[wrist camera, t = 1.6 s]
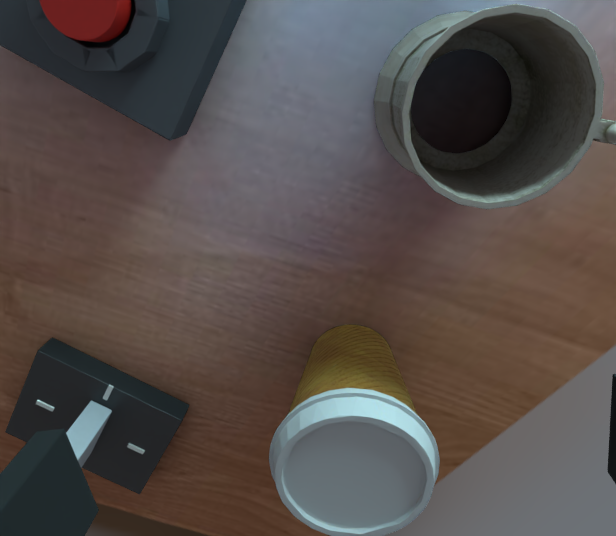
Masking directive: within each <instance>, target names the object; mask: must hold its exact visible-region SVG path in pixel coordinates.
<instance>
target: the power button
mask: <svg viewBox="0 0 616 536" xmlns="http://www.w3.org/2000/svg"><path fill="white" fill-rule="evenodd" d="M39 1H40V4H41V7H42V9H43V11H44V13H45V15H46V17H47V18H48V20H49V21H50V22H51V24H52V25H53V26H54V27H55V28H56V29H57V30H59V31H60V32H61V33H63V34H64V35H66V36H68V37H70V38H73V39H76V40H81V41H90V42H106V41H110V40H112V39H114V38H116V37H117V36H119V35H120V34H121V33H122V32H123V30H124V29H125V28H126V26H127V24H128V22H129V19H130V15H131V7H132V3H131V0H39Z"/></svg>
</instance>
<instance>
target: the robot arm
mask: <svg viewBox="0 0 616 536" xmlns="http://www.w3.org/2000/svg"><path fill="white" fill-rule="evenodd" d="M608 473H609V474H610V476H611V477H612V479H613V481H614V482H615V483H616V374H613V381H612V399H611V418H610V437H609V456H608ZM98 510H99V509H98V507H97V505H96V502H95V500H94V498H93V495H92V493H91V491H90V488H89V486H88V483H87V481H86V479H85V476H84V474H83V472H82V469H81V467H80V465H79V462H78V460H77V457H76V455H75V453H74V450H73V448H72V446H71V443H70V441H69V439H68V436H67V434H66V431H65V429H57V430H47V431H37V432H36V433H35V434H34V435H33V436H32V438H31V439H30V440H29V441H28V442H27V443H26V445H25V446H24V447H23V448H22V449H21V450H20V452H19V453H18V454H17V455H16V456H15V457H14V459H13V460H12V461H11V462H10V463H9V464H8V466H7V467H6V468H5V469H4V470H3V471H2V473H1V474H0V536H85V534H86V532H87V530H88V528H89V527H90V525H91V523H92V521H93V520H94V518H95V516H96V514H97V513H98Z"/></svg>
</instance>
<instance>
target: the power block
mask: <svg viewBox="0 0 616 536" xmlns="http://www.w3.org/2000/svg"><path fill="white" fill-rule="evenodd" d="M245 2H246V0H131V3H132V7H131V15H130V19H129V22H128V24H127V26H126V28H125V29H124V30H123V32H122V33H121V34H120V35H119V36H117V37H116V38H114V39H112V40H110V41H106V42H90V41H81V40H76V39H73V38H70V37H68V36H66V35H64V34H63V33H61V32H60V31H59V30H57V29H56V28H55V27H54V26H53V25H52V24H51V22H50V21H49V20H48V18H47V17H46V15H45V13H44V11H43V9H42V7H41V4H40V1H39V0H0V45H1V46H3V47H4V48H6V49H8V50H10V51H11V52H13V53H15V54H17V55H19V56H20V57H22V58H24V59H26V60H27V61H29V62H31V63H33V64H35V65H36V66H38V67H40V68H42V69H43V70H45V71H47V72H49V73H51V74H52V75H54V76H56V77H58V78H59V79H61V80H63V81H65V82H67V83H68V84H70V85H72V86H74V87H75V88H77V89H79V90H81V91H83V92H84V93H86V94H88V95H90V96H91V97H93V98H95V99H97V100H99V101H100V102H102V103H104V104H106V105H107V106H109V107H111V108H113V109H115V110H116V111H118V112H120V113H122V114H123V115H125V116H127V117H129V118H131V119H132V120H134V121H136V122H138V123H139V124H141V125H143V126H145V127H147V128H148V129H150V130H152V131H154V132H155V133H157V134H159V135H161V136H163V137H164V138H166V139H168V140H170V141H171V140H173V139H176V138H178V137H181V136H183V135H186V134H187V131H188V129H189V127H190V125H191V123H192V120H193V118H194V116H195V114H196V111H197V109H198V107H199V105H200V103H201V100H202V98H203V96H204V94H205V91H206V89H207V87H208V85H209V83H210V80H211V78H212V76H213V74H214V71H215V69H216V67H217V65H218V62H219V60H220V58H221V56H222V54H223V51H224V49H225V47H226V45H227V42H228V40H229V38H230V36H231V34H232V31H233V29H234V27H235V25H236V22H237V20H238V18H239V16H240V13H241V11H242V9H243V7H244V5H245Z"/></svg>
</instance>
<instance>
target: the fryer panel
mask: <svg viewBox="0 0 616 536" xmlns="http://www.w3.org/2000/svg"><path fill="white" fill-rule="evenodd" d="M90 401H94V402H96V403H98V404H100V405H102V406H104V407H106V408H108V409H110V410H112V412H111V414H110V416H109V418H108V420H107V422H106V424H105V426H104V428H103V430H102V432H101V434H100V436H99V438H98V440H97V442H96V444H95V446H94V448H93V450H92V452H91V454H90V456H89V457H88V459H87V460H86V462H85V463H84V465H83V466H82V468H84V469H86V470H88V471H90V472H92V473H95V474H97V475H99V476H101V477H103V478H105V479H108V480H110V481H112V482H114V483H116V484H118V485H121V486H123V487H125V488H127V489H129V490H131V491H134V492H136V493H138V494H140V493H141V491H142V489H143V488H144V486H145V484H146V483H147V481H148V479H149V477H150V476H151V474H152V472H153V470H154V469H155V467H156V465H157V464H158V462H159V460H160V458H161V457H162V455H163V453H164V451H165V450H166V448H167V446H168V444H169V443H170V441H171V439H172V438H173V436H174V434H175V432H176V431H177V429H178V427H179V425H180V424H181V422H182V420H183V418H184V416H185V414H186V412H187V409H188V407H189V405H188V404H186V403H184V402H182V401H180V400H178V399H176V398H174V397H172V396H170V395H168V394H166V393H164V392H162V391H160V390H158V389H156V388H154V387H152V386H150V385H148V384H146V383H144V382H142V381H140V380H138V379H136V378H133V377H131V376H129V375H127V374H125V373H123V372H121V371H119V370H117V369H115V368H113V367H111V366H109V365H107V364H105V363H103V362H101V361H99V360H97V359H95V358H93V357H91V356H89V355H87V354H85V353H83V352H81V351H79V350H77V349H75V348H73V347H71V346H69V345H67V344H65V343H63V342H60V341H58V340H56V339H54V338H51V339H50V340H49V341H48V342H47V343H46V344H44V345H43V346H42V347H41V348H40V349H39V350H38V351H37V354H36V356H35V359H34V361H33V364H32V366H31V369H30V371H29V374H28V376H27V379H26V381H25V384H24V386H23V389H22V391H21V394H20V396H19V399H18V401H17V404H16V406H15V409H14V411H13V414H12V416H11V419H10V421H9V424H8V426H7V429H6V431H5V432H6V433H8V434H10V435H12V436H15V437H17V438H19V439H21V440H23V441H25V442H28V441H29V440H30V439H31V438H32V436H33V435H34V434H35V433H36V432H37V431H47V430H57V429H65V431H66V432H67V431H68V430H69V428H70V427H71V426H72V424H73V423H74V422H75V421H76V419H77V418H78V417H79V415H80V414H81V413H82V412H83V410H84V409H85V408H86V406H87V405H88V404H89V403H90Z"/></svg>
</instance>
